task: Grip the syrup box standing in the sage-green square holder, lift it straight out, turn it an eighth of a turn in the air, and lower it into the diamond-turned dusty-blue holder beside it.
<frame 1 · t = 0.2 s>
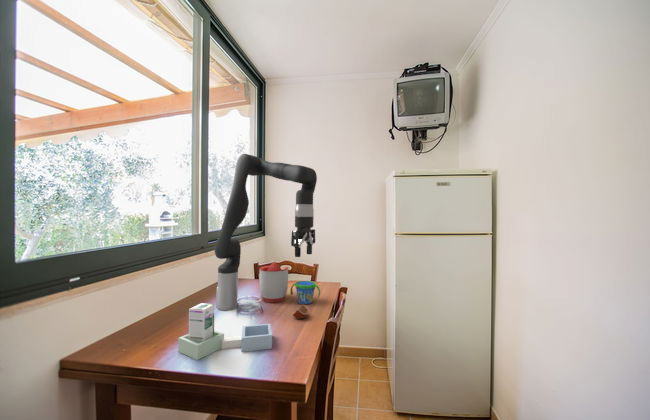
hand: (303, 255, 110), 29 cm above the table, tool pointing down, fingers open, 8 cm apart
citrus juicer: (274, 299, 145), on the table
snack cup: (305, 303, 140), on the table
holder caddy: (229, 346, 93), on the table
fruit slice: (300, 318, 119), on the table
syrup box: (201, 349, 91), resting in holder caddy
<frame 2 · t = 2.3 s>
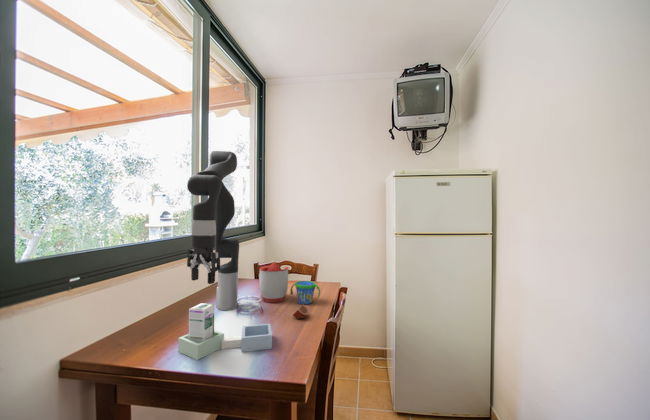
hand: (202, 281, 91), 23 cm above the table, tool pointing down, fingers open, 8 cm apart
nothing on the table moved.
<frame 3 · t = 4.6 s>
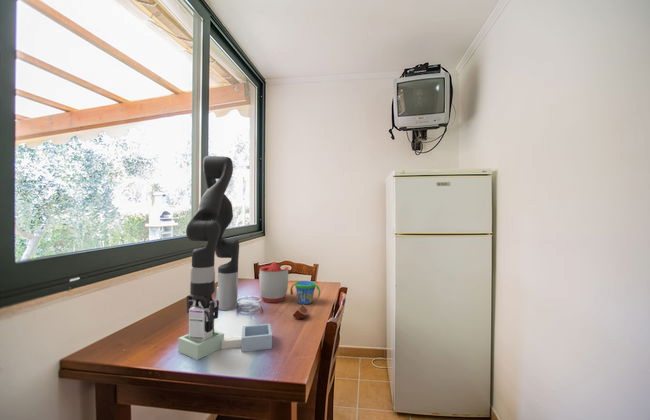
hand: (201, 328, 91), 7 cm above the table, tool pointing down, fingers closed on syrup box, 6 cm apart
syrup box: (201, 349, 91), resting in holder caddy, touching gripper
everything else where it was.
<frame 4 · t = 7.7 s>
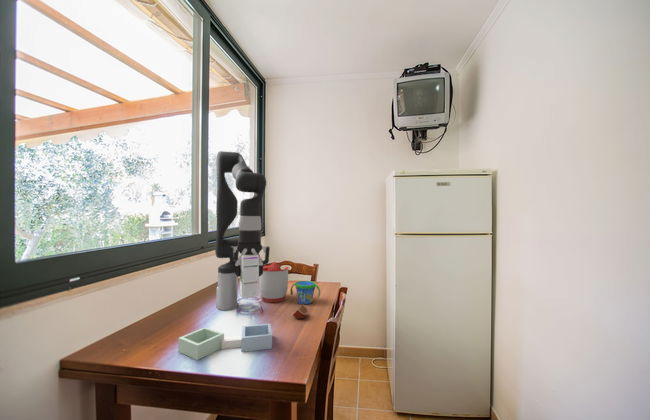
hand: (249, 276, 95), 24 cm above the table, tool pointing down, fingers closed on syrup box, 6 cm apart
syrup box: (248, 296, 95), point 17 cm above the table, touching gripper
everything else where it was.
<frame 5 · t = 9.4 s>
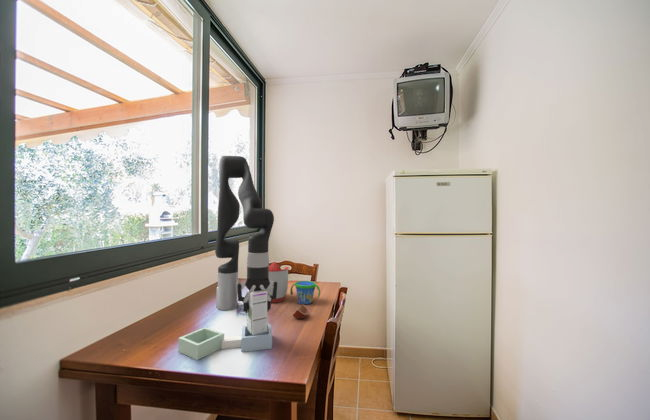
hand: (257, 311, 96), 11 cm above the table, tool pointing down, fingers closed on syrup box, 6 cm apart
syrup box: (256, 331, 95), point 4 cm above the table, touching gripper
everything else where it was.
when the fingers open (8 cm above the table, at t = 10.9 s): syrup box drops 1 cm, resting in holder caddy.
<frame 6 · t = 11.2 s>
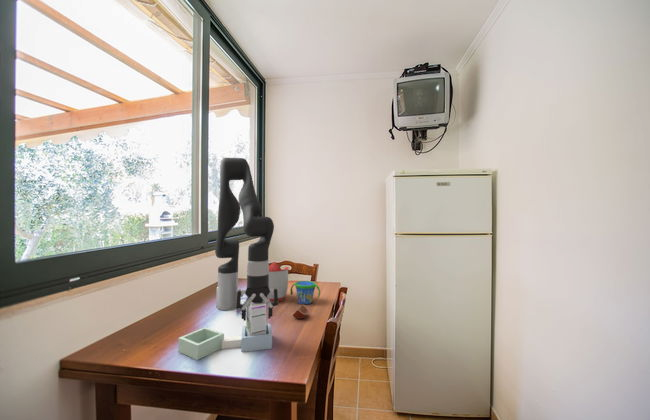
hand: (257, 318, 96), 9 cm above the table, tool pointing down, fingers open, 8 cm apart
syrup box: (255, 343, 95), resting in holder caddy
everything else where it was.
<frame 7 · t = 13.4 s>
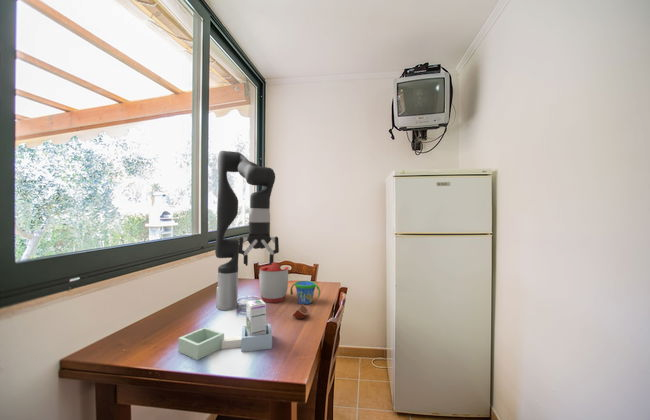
hand: (258, 264, 99), 27 cm above the table, tool pointing down, fingers open, 8 cm apart
nothing on the table moved.
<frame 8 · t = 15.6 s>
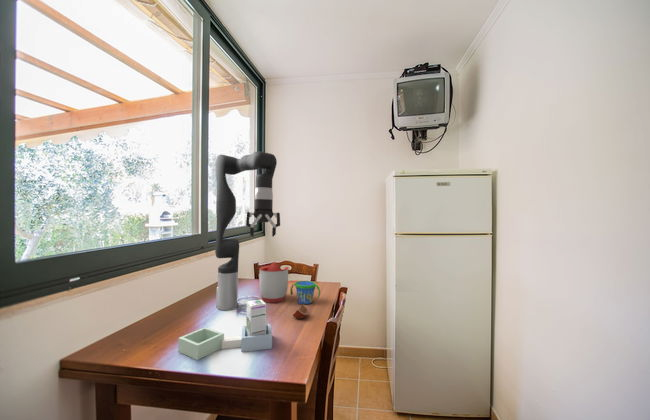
hand: (263, 236, 116), 36 cm above the table, tool pointing down, fingers open, 8 cm apart
nothing on the table moved.
at the end: syrup box 0.3 cm from the target spot, resting in holder caddy; syrup box tilted 0°; the gripper is holding nothing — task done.
